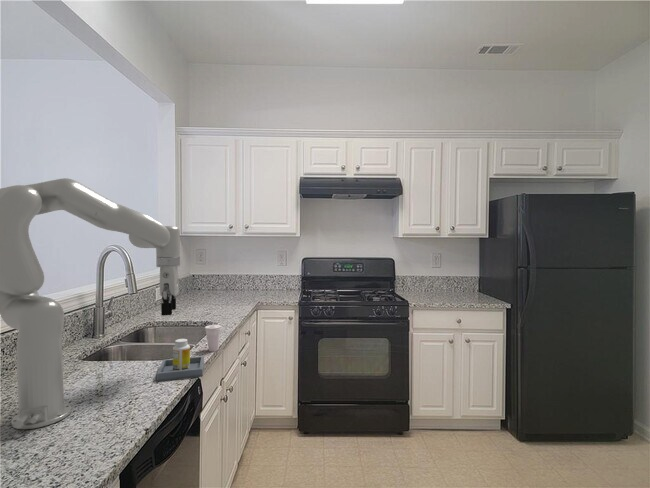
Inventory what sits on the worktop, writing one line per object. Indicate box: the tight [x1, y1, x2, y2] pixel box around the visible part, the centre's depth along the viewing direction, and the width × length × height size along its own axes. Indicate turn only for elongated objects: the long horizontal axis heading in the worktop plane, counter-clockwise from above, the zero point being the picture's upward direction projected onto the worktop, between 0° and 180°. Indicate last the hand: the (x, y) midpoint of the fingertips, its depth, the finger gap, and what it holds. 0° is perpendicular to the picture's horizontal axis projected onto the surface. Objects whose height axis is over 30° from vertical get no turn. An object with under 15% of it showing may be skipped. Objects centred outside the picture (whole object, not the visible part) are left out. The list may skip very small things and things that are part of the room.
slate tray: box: [156, 355, 205, 382], centre depth 133 cm, size 14×14×2 cm
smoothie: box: [204, 315, 222, 352], centre depth 156 cm, size 6×6×14 cm
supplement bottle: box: [172, 338, 191, 371], centre depth 132 cm, size 6×6×10 cm
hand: (168, 312), depth 131 cm, fingers open, 9 cm apart
